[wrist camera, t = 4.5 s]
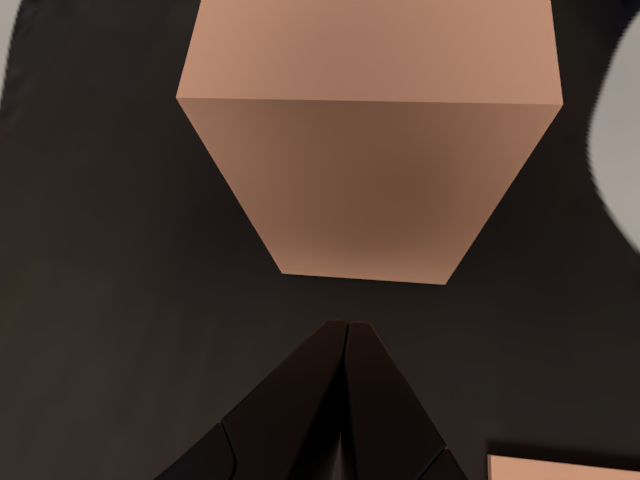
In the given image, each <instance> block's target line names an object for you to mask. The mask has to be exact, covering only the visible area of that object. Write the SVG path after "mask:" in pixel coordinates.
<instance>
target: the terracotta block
mask: <svg viewBox="0 0 640 480" xmlns="http://www.w3.org/2000/svg"><path fill="white" fill-rule="evenodd" d="M176 99H177V100H178V102H179V103H180V105H181V107H182V108H183V110H184V112H185V113H186V115H187V117H188V118H189V120H190V122H191V123H192V125H193V127H194V128H195V130H196V132H197V133H198V135H199V137H200V138H201V140H202V142H203V143H204V145H205V147H206V148H207V150H208V151H209V153H210V155H211V156H212V158H213V160H214V161H215V163H216V165H217V166H218V168H219V170H220V171H221V173H222V175H223V176H224V178H225V180H226V181H227V183H228V185H229V186H230V188H231V190H232V191H233V193H234V195H235V196H236V198H237V200H238V201H239V203H240V204H241V206H242V208H243V209H244V211H245V213H246V214H247V216H248V218H249V219H250V221H251V223H252V224H253V226H254V228H255V229H256V231H257V233H258V234H259V236H260V238H261V239H262V241H263V243H264V244H265V246H266V248H267V249H268V251H269V252H270V254H271V256H272V257H273V259H274V261H275V262H276V264H277V266H278V267H279V269H280V271H281V272H282V274H296V275H311V276H325V277H340V278H355V279H369V280H384V281H399V282H414V283H428V284H443V285H445V284H446V282H447V281H448V279H449V278H450V276H451V275H452V273H453V272H454V270H455V269H456V267H457V266H458V264H459V263H460V261H461V260H462V258H463V256H464V255H465V253H466V252H467V250H468V249H469V247H470V246H471V244H472V243H473V241H474V240H475V238H476V237H477V235H478V234H479V232H480V231H481V229H482V227H483V226H484V224H485V223H486V221H487V220H488V218H489V217H490V215H491V214H492V212H493V211H494V209H495V208H496V206H497V205H498V203H499V202H500V200H501V199H502V197H503V195H504V194H505V192H506V191H507V189H508V188H509V186H510V185H511V183H512V182H513V180H514V179H515V177H516V176H517V174H518V173H519V171H520V170H521V168H522V166H523V165H524V163H525V162H526V160H527V159H528V157H529V156H530V154H531V153H532V151H533V150H534V148H535V147H536V145H537V144H538V142H539V141H540V139H541V138H542V136H543V134H544V133H545V131H546V130H547V128H548V127H549V125H550V124H551V122H552V121H553V119H554V118H555V116H556V115H557V113H558V112H559V110H560V109H561V107H562V105H563V99H562V91H561V83H560V75H559V67H558V58H557V50H556V42H555V34H554V26H553V18H552V9H551V1H550V0H201V4H200V8H199V12H198V16H197V19H196V23H195V27H194V31H193V35H192V38H191V42H190V46H189V50H188V54H187V57H186V61H185V65H184V69H183V73H182V76H181V80H180V84H179V88H178V92H177V95H176Z"/></svg>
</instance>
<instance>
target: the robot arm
mask: <svg viewBox="0 0 640 480" xmlns="http://www.w3.org/2000/svg"><path fill="white" fill-rule="evenodd" d="M340 433H341V473H342V480H468V478H467V477H466V475H465V474H464V472H463V471H462V469H461V467H460V466H459V464H458V463H457V461H456V459H455V458H454V456H453V454H452V453H451V451H450V450H449V449H447V445H446V443H445V442H444V440H443V439H442V437H441V435H440V434H439V432H438V431H437V429H436V427H435V426H434V424H433V423H432V421H431V419H430V418H429V416H428V414H427V413H426V411H425V410H424V408H423V406H422V405H421V403H420V402H419V400H418V398H417V397H416V395H415V393H414V392H413V390H412V389H411V387H410V385H409V384H408V382H407V381H406V379H405V377H404V376H403V374H402V373H401V371H400V369H399V368H398V366H397V364H396V363H395V361H394V360H393V358H392V356H391V355H390V353H389V352H388V350H387V348H386V347H385V345H384V343H383V342H382V340H381V339H380V337H379V335H378V334H377V332H376V331H375V329H374V327H373V326H372V324H371V323H369V322H359V321H351V322H350V323H349V324H348V322H347V321H345V320H334V319H328V320H326V321H325V322H324V323H323V324H322V325H321V326H320V327H319V328H318V329H317V330H315V331H314V332H313V333H312V334H311V335H310V336H309V337H308V338H307V339H306V340H305V341H304V342H303V343H302V344H301V345H300V346H299V347H298V348H297V349H295V350H294V351H293V352H292V353H291V354H290V355H289V356H288V357H287V358H286V359H285V360H284V361H283V362H282V363H281V364H280V365H279V366H278V367H276V368H275V369H274V370H273V371H272V372H271V373H270V374H269V375H268V376H267V377H266V378H265V379H264V380H263V381H262V382H261V383H260V384H259V385H258V386H256V387H255V388H254V389H253V390H252V391H251V392H250V393H249V394H248V395H247V396H246V397H245V398H244V399H243V400H242V401H241V402H240V403H239V404H237V405H236V406H235V407H234V408H233V409H232V410H231V411H230V412H229V413H228V414H227V415H226V416H225V417H224V418H223V419H222V420H221V423H217V424H216V425H215V426H214V427H213V428H212V429H211V430H210V431H209V432H208V433H207V434H206V435H205V436H203V437H202V438H201V439H200V440H199V441H198V442H197V443H196V444H195V445H193V446H192V447H191V448H190V449H189V450H188V451H187V452H186V453H185V454H183V455H182V456H181V457H180V458H179V459H178V460H177V461H176V462H174V463H173V464H172V465H171V466H169V467H168V468H167V469H166V470H164V471H163V472H162V473H161V474H160V475H158V476H157V477H156V478H155V479H153V480H331V478H332V474H333V469H334V465H335V460H336V456H337V451H338V446H339V441H340Z"/></svg>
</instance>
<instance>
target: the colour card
mask: <svg viewBox="0 0 640 480" xmlns="http://www.w3.org/2000/svg"><path fill="white" fill-rule="evenodd" d="M487 458H488V480H640V472H639V471H630V470H621V469H612V468H604V467H595V466H586V465H577V464H568V463H559V462H551V461H542V460H533V459H524V458H515V457H506V456H498V455H489V454H487Z"/></svg>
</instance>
